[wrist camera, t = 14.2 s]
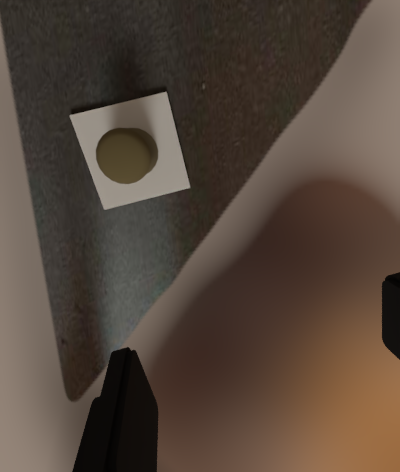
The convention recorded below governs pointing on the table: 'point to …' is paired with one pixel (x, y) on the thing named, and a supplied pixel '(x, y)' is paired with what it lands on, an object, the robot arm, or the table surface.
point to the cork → (126, 154)
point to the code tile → (145, 118)
